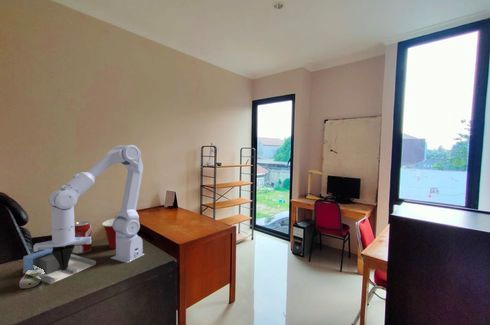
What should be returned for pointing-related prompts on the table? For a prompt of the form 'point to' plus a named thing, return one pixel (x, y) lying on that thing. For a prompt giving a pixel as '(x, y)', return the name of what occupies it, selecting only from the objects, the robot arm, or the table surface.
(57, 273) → the sliding block fixture
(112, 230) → the plastic cup
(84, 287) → the table surface
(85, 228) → the soda can
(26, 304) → the table surface
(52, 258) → the grey rectangular block
